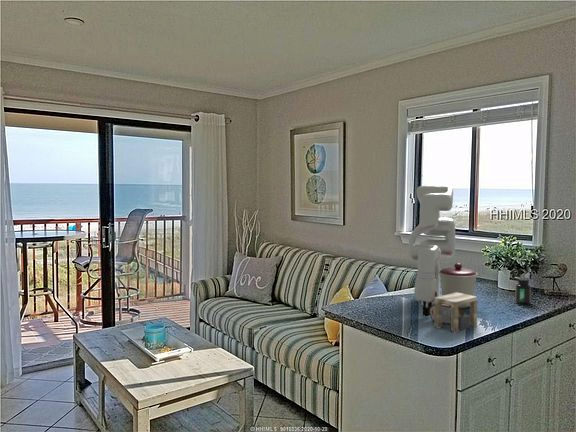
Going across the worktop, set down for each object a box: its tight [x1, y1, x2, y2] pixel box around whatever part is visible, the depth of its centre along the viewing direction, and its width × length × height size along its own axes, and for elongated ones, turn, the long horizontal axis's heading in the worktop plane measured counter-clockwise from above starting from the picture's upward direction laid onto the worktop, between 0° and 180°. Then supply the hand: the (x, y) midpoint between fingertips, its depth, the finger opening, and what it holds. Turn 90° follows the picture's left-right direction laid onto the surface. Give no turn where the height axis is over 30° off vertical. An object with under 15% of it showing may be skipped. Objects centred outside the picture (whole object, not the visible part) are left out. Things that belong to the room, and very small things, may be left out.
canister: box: [439, 262, 479, 309], centre depth 221 cm, size 18×18×21 cm
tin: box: [429, 303, 466, 326], centre depth 194 cm, size 15×3×8 cm, turn 50°
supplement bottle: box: [514, 278, 532, 306], centre depth 224 cm, size 7×7×12 cm
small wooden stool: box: [433, 292, 478, 333], centre depth 189 cm, size 10×15×12 cm, turn 125°
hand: (426, 315), depth 202 cm, fingers closed
